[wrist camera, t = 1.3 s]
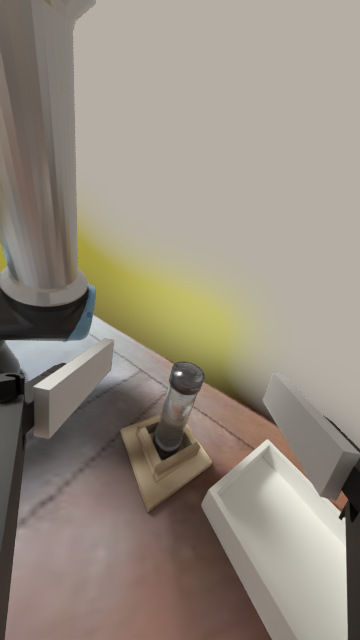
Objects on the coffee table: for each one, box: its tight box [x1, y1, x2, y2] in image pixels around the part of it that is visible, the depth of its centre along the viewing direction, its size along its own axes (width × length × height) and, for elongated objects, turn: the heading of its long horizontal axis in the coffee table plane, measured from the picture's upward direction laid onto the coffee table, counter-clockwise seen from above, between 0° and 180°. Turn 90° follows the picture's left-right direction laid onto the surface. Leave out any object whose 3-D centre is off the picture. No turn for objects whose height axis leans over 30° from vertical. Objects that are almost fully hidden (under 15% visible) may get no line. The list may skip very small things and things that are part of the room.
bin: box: [201, 439, 348, 640], centre depth 23 cm, size 16×16×4 cm
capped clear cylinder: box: [152, 362, 204, 460], centre depth 28 cm, size 5×5×16 cm
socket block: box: [120, 413, 212, 513], centre depth 30 cm, size 12×12×4 cm
